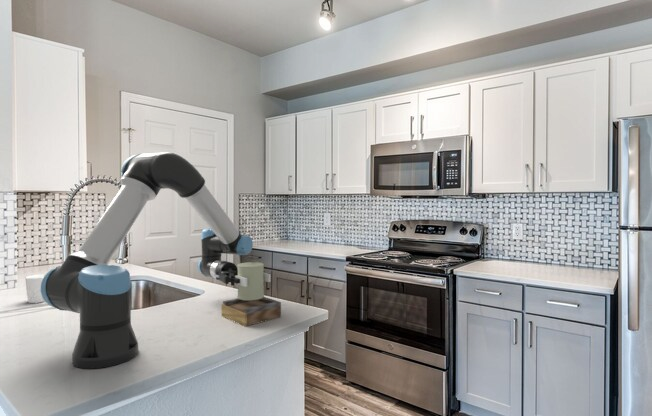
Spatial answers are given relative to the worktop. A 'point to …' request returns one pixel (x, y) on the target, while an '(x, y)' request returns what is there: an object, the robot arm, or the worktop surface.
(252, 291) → the can
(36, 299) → the white cup
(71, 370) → the worktop surface
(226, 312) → the brown wooden tray
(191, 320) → the worktop surface
